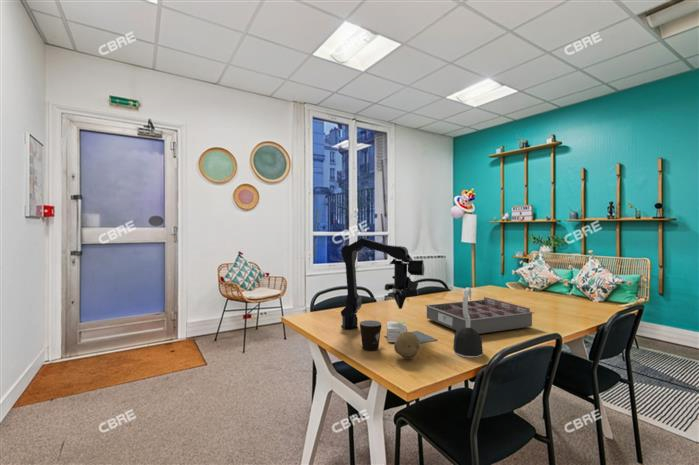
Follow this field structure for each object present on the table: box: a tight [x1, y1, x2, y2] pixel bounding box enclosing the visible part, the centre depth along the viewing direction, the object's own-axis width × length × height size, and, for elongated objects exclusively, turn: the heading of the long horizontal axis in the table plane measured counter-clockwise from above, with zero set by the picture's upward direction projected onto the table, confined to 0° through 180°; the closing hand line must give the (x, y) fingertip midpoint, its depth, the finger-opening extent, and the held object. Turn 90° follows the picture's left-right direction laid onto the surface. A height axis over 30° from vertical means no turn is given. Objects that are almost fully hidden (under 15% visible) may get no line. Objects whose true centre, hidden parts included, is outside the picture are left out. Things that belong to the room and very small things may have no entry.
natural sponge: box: [393, 331, 421, 360], centre depth 121 cm, size 9×9×10 cm
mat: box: [383, 330, 438, 344], centre depth 145 cm, size 18×14×1 cm
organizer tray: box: [424, 296, 535, 335], centre depth 167 cm, size 32×40×10 cm
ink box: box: [386, 321, 408, 343], centre depth 145 cm, size 9×5×15 cm
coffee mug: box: [359, 319, 382, 352], centre depth 133 cm, size 12×9×10 cm
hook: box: [452, 286, 484, 358], centre depth 128 cm, size 11×11×25 cm
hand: (400, 308), depth 151 cm, fingers closed
